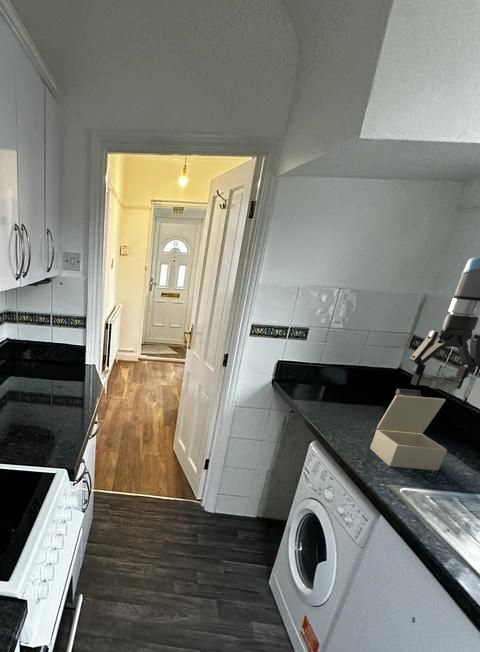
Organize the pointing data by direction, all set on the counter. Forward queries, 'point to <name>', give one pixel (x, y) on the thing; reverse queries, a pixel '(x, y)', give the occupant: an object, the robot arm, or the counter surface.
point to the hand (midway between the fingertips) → (434, 386)
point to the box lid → (410, 412)
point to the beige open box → (408, 450)
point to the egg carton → (441, 382)
